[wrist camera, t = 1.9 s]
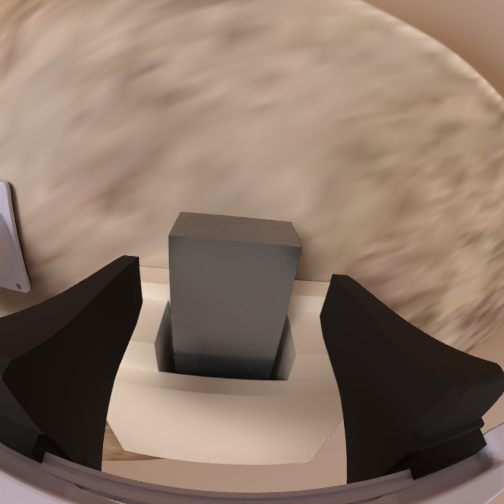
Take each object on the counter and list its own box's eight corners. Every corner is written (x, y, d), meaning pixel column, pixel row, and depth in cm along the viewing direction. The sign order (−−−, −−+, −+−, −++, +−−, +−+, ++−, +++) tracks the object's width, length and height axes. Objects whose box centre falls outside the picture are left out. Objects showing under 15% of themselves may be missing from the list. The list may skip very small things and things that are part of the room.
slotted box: (299, 405, 23) (309, 462, 18) (137, 393, 22) (124, 450, 16) (348, 283, 17) (383, 353, 12) (110, 263, 16) (67, 329, 10)
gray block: (184, 380, 18) (180, 410, 16) (180, 212, 13) (168, 235, 11) (256, 385, 19) (258, 415, 17) (291, 222, 13) (301, 247, 11)
